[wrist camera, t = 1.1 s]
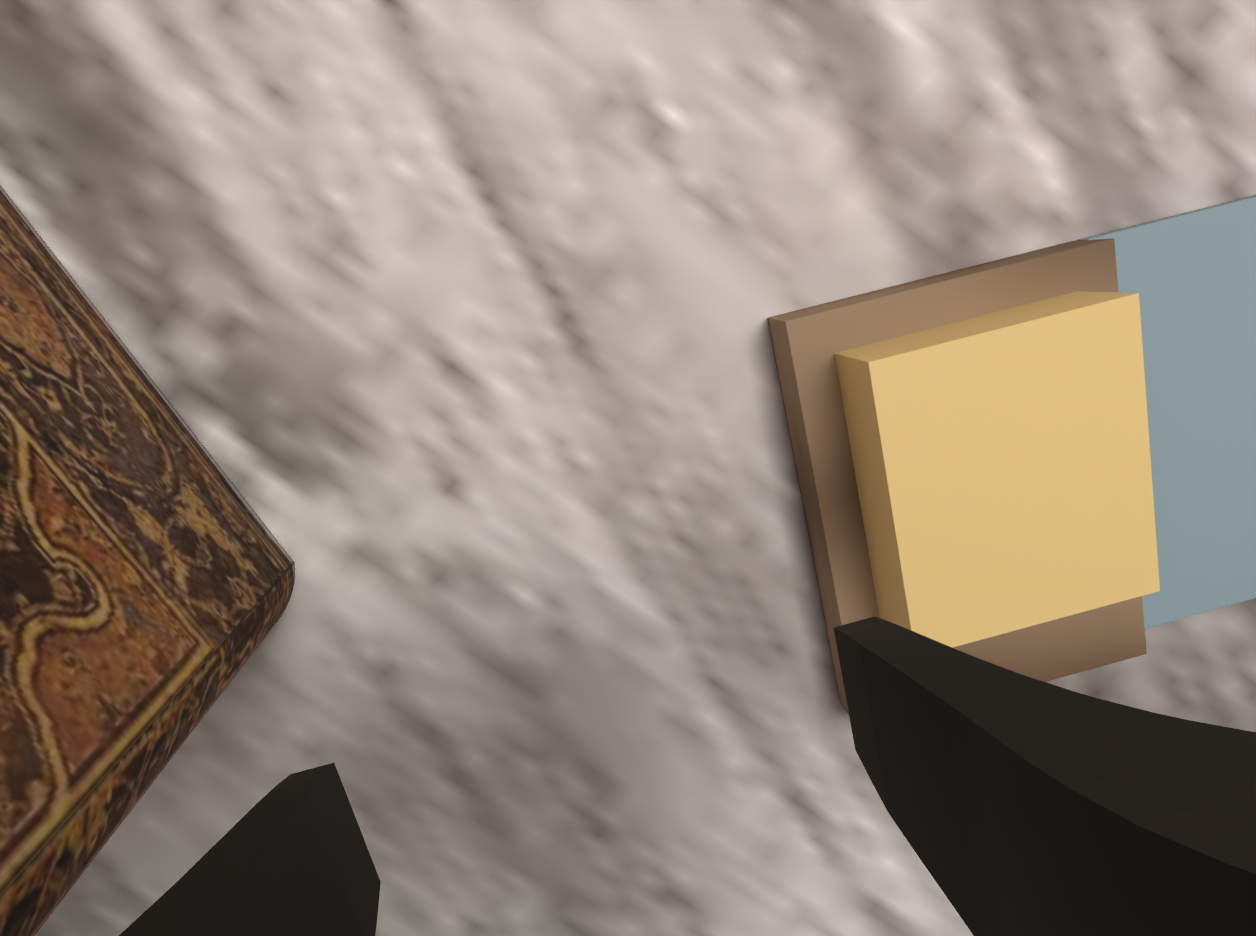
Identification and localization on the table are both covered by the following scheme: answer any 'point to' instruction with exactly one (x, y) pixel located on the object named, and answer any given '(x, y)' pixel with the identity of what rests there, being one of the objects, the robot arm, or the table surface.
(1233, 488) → the mat
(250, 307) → the table surface
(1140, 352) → the tile
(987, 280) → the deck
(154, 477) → the book
